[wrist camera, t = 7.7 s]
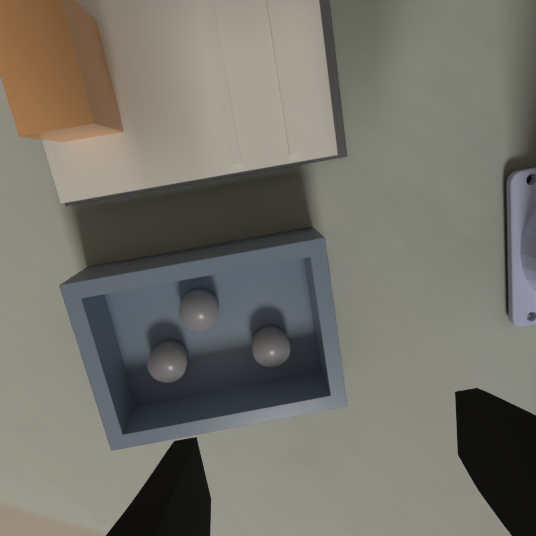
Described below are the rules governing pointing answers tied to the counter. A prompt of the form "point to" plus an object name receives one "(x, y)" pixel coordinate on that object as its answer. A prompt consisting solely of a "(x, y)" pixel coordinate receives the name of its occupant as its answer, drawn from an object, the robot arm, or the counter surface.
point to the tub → (209, 337)
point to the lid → (165, 88)
